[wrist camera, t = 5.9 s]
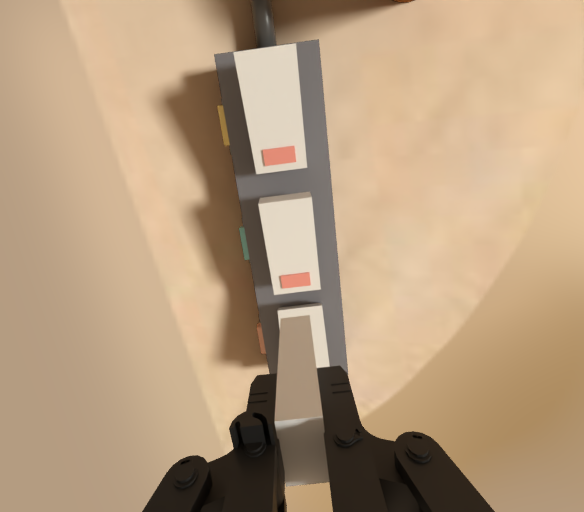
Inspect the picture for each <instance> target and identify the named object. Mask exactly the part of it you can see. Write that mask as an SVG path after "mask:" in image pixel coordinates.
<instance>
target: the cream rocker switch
mask: <svg viewBox="0 0 584 512" xmlns="http://www.w3.org/2000/svg"><path fill="white" fill-rule="evenodd" d="M305 315H310V322H311V330H312V337H313V345H314V353H315V360H316V368H321V367H330V365H329V357H328V349H327V341H326V333H325V325H324V317H323V309H322V304H321V303H315V304H306V305H298V306H289V307H281V308H279V309H278V319H279V328H280V320H281V318H288V317H297V316H305Z"/></svg>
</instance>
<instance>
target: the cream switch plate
mask: <svg viewBox="0 0 584 512" xmlns="http://www.w3.org/2000/svg"><path fill="white" fill-rule="evenodd" d="M258 206H259V211H260V217H261V223H262V228H263V234H264V240H265V246H266V251H267V257H268V263H269V268H270V274H271V280H272V286H273V291H274V295H278V294H287V293H295V292H303V291H312V290H320V289H321V286H320V276H319V266H318V256H317V245H316V235H315V225H314V215H313V205H312V196H311V193H310V192H302V193H295V194H287V195H279V196H271V197H264V198H260V200H259V203H258Z"/></svg>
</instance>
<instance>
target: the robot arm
mask: <svg viewBox="0 0 584 512" xmlns="http://www.w3.org/2000/svg"><path fill="white" fill-rule="evenodd" d="M229 430H230V434H231V438H232V443H233V447H234V449H233V450H232V451H231V452H229V453H228V454H227V455H225V456H223V457H221V458H218V459H216V460H214V461H211V462H209V463H207V461H206V460H205V459H204V458H203V457H200V456H198V455H197V456H188V457H186V458H183V459H181V460H179V461H178V462H177V463H175V464H174V465H173V466H172V467H171V468H170V469H169V471H168V472H167V473H166V475H165V477H164V478H163V479H162V481H161V483H160V484H159V486H158V487H157V489H156V491H155V492H154V494H153V496H152V497H151V499H150V500H149V502H148V503H147V505H146V507H145V508H144V510H143V511H142V512H287V507H286V506H287V505H286V499H285V494H284V491H285V483H286V486H296V485H306V484H316V483H326V482H330V490H331V498H332V506H333V512H495V511H494V510H493V509H492V508H491V507H490V505H489V504H488V503H487V502H486V501H485V499H484V498H483V497H482V496H481V495H480V493H479V492H478V491H477V490H476V489H475V488H474V486H473V485H472V484H471V483H470V482H469V480H468V479H467V478H466V477H465V475H464V474H463V473H462V472H461V471H460V469H459V468H458V467H457V466H456V465H455V463H454V462H453V461H452V460H451V459H450V457H449V456H448V455H447V454H446V453H445V451H444V450H443V449H442V448H441V447H440V446H439V444H438V443H437V442H435V441H434V440H433V439H432V438H431V437H429V436H427V435H425V434H423V433H419V432H405V433H403V434H401V435H400V436H399V437H398V438H397V439H396V441H395V442H394V441H390V440H384V439H380V438H377V437H375V436H373V435H371V434H370V433H368V432H367V431H366V430H365V429H364V427H363V426H362V424H361V422H360V419H359V415H358V412H357V408H356V404H355V401H354V397H353V393H352V390H351V386H350V382H349V379H348V375H347V372H346V371H345V370H344V369H343V368H342V367H341V366H340V365H339V366H330V367H321V368H316V360H315V353H314V345H313V337H312V330H311V322H310V315H305V316H297V317H288V318H281V320H280V337H279V353H278V370H277V373H275V374H266V375H257V377H256V378H255V379H254V381H253V382H252V384H251V387H250V393H249V399H248V404H247V410H246V411H245V412H244V413H242V414H240V415H238V416H237V417H236V418H235V419H234V420H233V421H232V423H231V426H230V428H229Z"/></svg>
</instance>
